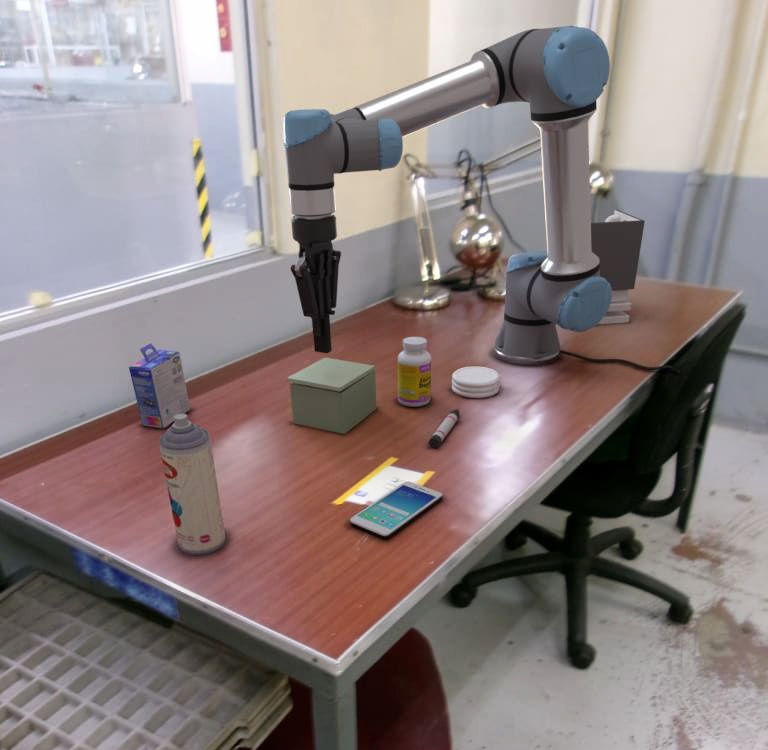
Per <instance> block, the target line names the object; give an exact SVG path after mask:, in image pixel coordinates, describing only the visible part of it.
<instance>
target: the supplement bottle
mask: <svg viewBox="0 0 768 750" xmlns="http://www.w3.org/2000/svg"><path fill="white" fill-rule="evenodd" d="M427 346H428V340H427V339H426V338H425V337H422V336H408V337H405V338H403V339H402V348H403V350H402V351H400V353H399V354H398V356H397V401H398V402H399V404H401V405H402V406H406V407H410V408H418V407H419V408H420V407H424V406H426V405H428V404H429V403H430V402H431V394H432V393H431V391H432V390H431V389H432V355H431V353H430V352H428V351H427Z"/></svg>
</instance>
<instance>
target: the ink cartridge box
mask: <svg viewBox="0 0 768 750" xmlns="http://www.w3.org/2000/svg"><path fill="white" fill-rule="evenodd" d="M148 350H152V352H150V353H148V354H146V352H147V351H148ZM139 351H140V352H141V354H142V356H143V358H142V359H140V360H138V361H137V362H136V363H134V364H132V365H130V366H129V367H128V370H129V371H128V372H129V375H130V379H131V383H132V387H133V391H134V395H135V399H136V403H137V408H138V411H139V416H140V420H141V424H142V426H144V427H149V428H155V429H165V428H167V427H168V426H169V425H171V424H172V423H174V422H175V421H174V416H175V415H178V414H186V413H187V412H188V411H190V410H191V406H190V400H189V394H188V390H187V385H186V378H185V375H184V374H185V373H184V370H183V364H182V363H183V362H182V359H181V353H180V351H175V350H174V351H173V350H165V349H164V350H163V349H156V348H155V346H154V345H153V344H152V343H148V344H147V345H145V346H143V347H141V348H140V349H139Z"/></svg>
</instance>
